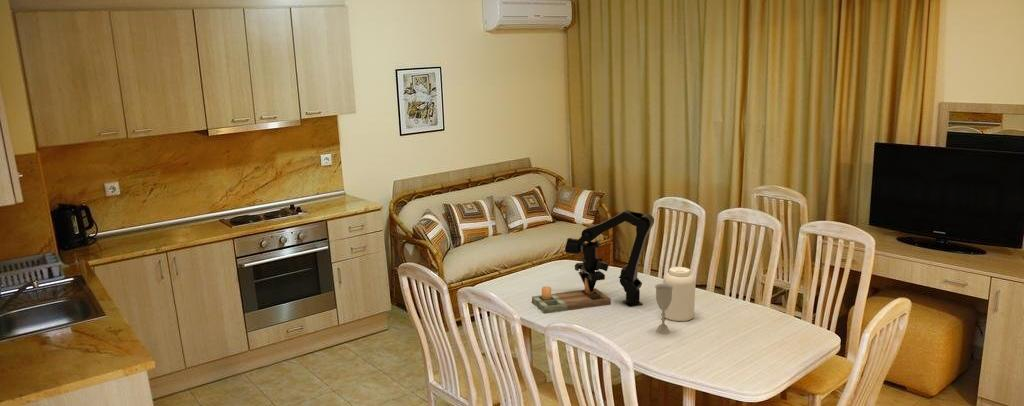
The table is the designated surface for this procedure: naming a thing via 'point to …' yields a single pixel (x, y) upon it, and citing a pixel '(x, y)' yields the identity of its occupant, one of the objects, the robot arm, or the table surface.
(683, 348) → the table surface
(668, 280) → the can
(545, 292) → the model pin
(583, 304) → the pin board
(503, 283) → the table surface
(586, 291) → the orange pin
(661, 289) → the chalice
